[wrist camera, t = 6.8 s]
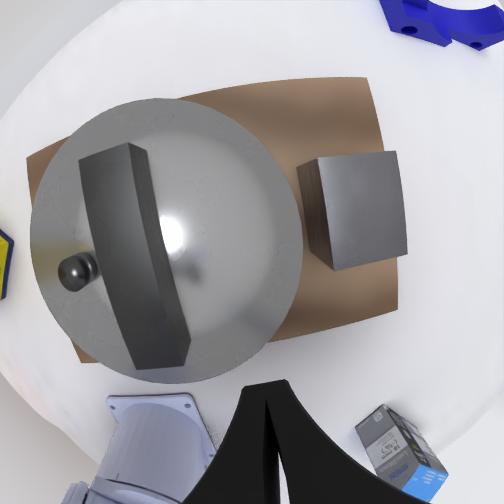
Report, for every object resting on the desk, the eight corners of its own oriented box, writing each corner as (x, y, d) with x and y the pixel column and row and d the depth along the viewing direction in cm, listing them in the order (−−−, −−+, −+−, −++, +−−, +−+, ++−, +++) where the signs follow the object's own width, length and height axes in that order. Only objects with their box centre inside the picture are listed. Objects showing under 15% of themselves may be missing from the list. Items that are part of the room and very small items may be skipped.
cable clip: (389, 32, 15) (427, -2, 9) (375, -6, 14) (405, -42, 8) (482, 63, 15) (520, 49, 9) (468, 28, 14) (502, 10, 8)
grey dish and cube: (372, 290, 17) (407, 317, 13) (112, 337, 17) (85, 372, 13) (346, 105, 15) (379, 81, 11) (68, 165, 15) (26, 161, 10)
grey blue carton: (418, 426, 23) (467, 499, 11) (392, 448, 23) (432, 523, 11) (383, 402, 21) (443, 498, 9) (351, 428, 22) (396, 528, 9)
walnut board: (391, 304, 19) (397, 309, 18) (86, 356, 19) (81, 363, 18) (360, 82, 15) (366, 77, 15) (34, 158, 15) (26, 157, 14)
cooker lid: (314, 352, 13) (330, 386, 10) (86, 378, 13) (66, 408, 10) (268, 78, 10) (277, 48, 7) (23, 156, 10) (-12, 152, 7)
